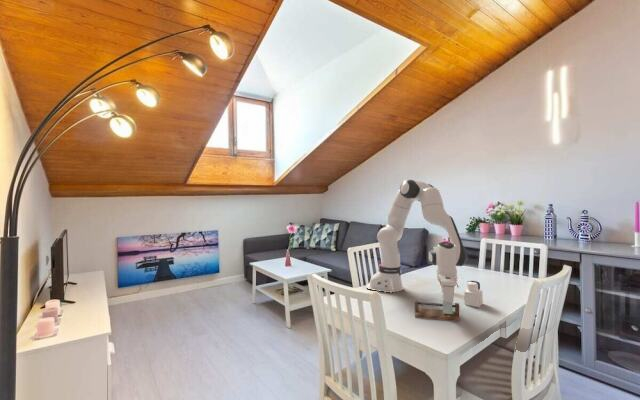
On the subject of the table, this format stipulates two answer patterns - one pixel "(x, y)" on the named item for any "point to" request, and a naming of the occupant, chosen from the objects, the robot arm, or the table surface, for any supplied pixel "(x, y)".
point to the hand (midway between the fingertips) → (447, 305)
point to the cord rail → (436, 312)
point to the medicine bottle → (473, 294)
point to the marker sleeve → (446, 310)
